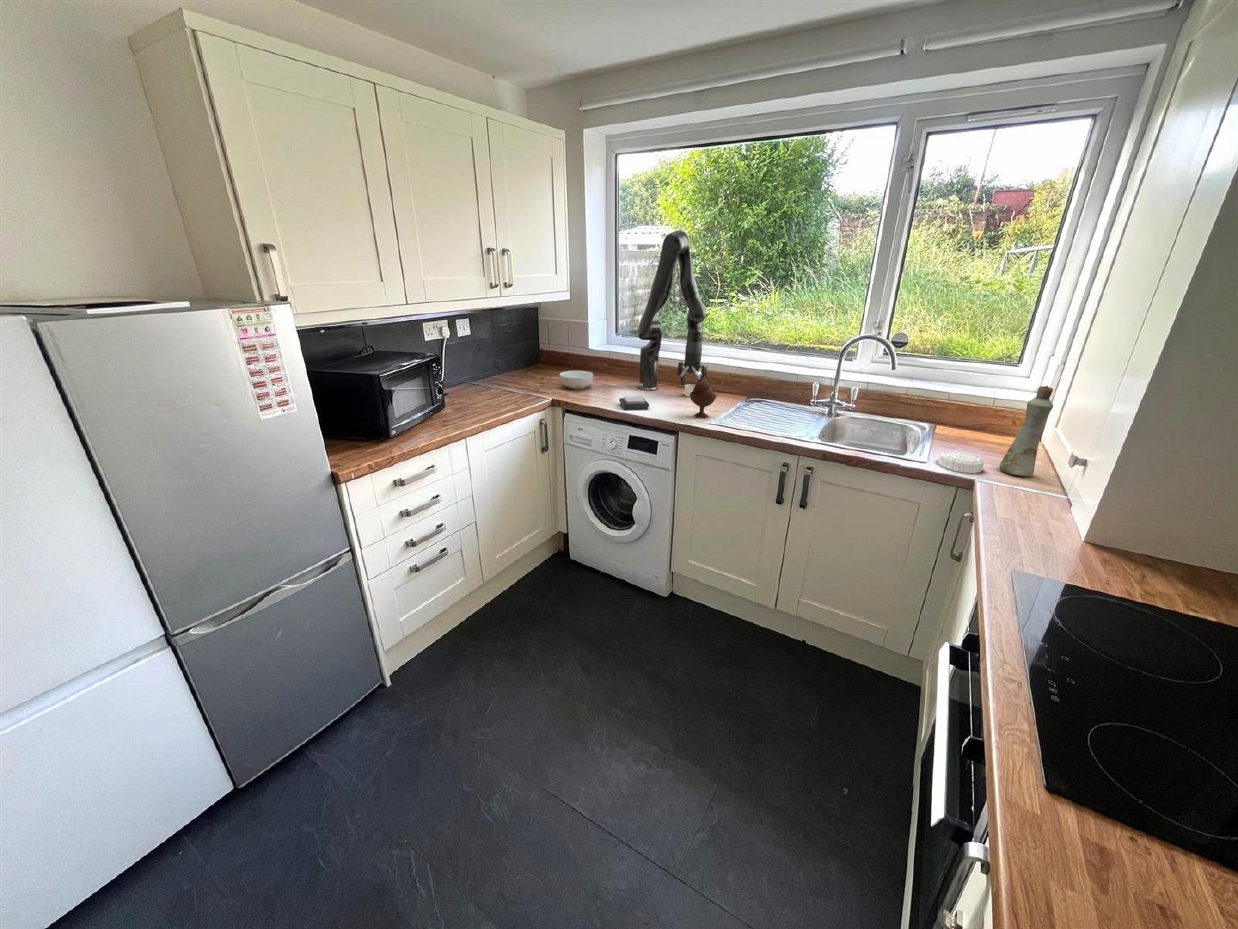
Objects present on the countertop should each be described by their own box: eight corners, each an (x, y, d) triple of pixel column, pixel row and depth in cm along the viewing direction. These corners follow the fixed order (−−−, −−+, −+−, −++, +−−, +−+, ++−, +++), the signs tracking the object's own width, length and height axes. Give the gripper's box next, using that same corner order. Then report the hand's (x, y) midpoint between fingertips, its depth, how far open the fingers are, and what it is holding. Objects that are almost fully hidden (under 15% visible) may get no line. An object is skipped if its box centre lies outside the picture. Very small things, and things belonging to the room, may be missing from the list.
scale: (619, 403, 222) (619, 398, 221) (643, 403, 224) (643, 397, 223) (624, 410, 212) (624, 404, 211) (648, 409, 214) (649, 404, 213)
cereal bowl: (564, 383, 258) (564, 369, 255) (595, 385, 256) (596, 371, 253) (555, 390, 242) (555, 375, 239) (589, 392, 240) (589, 378, 237)
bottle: (1003, 475, 155) (1033, 386, 144) (994, 465, 163) (1022, 381, 152) (1036, 480, 152) (1070, 390, 142) (1026, 470, 160) (1057, 384, 150)
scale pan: (623, 400, 220) (623, 396, 220) (640, 399, 222) (641, 396, 221) (626, 404, 213) (627, 401, 212) (645, 404, 214) (645, 400, 214)
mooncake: (985, 476, 154) (988, 465, 152) (940, 469, 158) (943, 458, 157) (977, 463, 164) (980, 453, 163) (935, 457, 168) (938, 447, 167)
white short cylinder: (682, 394, 243) (683, 384, 241) (694, 394, 244) (695, 384, 242) (686, 397, 237) (687, 387, 235) (698, 397, 238) (699, 386, 236)
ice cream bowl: (716, 420, 202) (720, 383, 197) (689, 419, 202) (692, 382, 197) (712, 413, 212) (716, 378, 207) (686, 412, 212) (689, 377, 207)
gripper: (676, 350, 233) (673, 384, 239) (703, 353, 225) (700, 389, 231) (684, 348, 239) (681, 382, 244) (711, 351, 231) (707, 386, 237)
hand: (690, 385), depth 238 cm, fingers open, 8 cm apart
